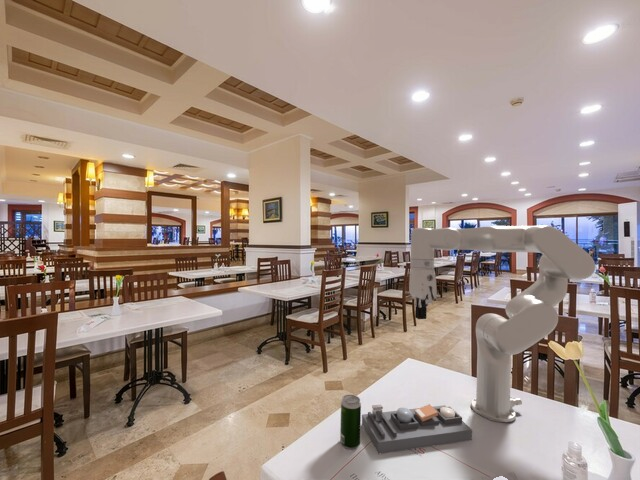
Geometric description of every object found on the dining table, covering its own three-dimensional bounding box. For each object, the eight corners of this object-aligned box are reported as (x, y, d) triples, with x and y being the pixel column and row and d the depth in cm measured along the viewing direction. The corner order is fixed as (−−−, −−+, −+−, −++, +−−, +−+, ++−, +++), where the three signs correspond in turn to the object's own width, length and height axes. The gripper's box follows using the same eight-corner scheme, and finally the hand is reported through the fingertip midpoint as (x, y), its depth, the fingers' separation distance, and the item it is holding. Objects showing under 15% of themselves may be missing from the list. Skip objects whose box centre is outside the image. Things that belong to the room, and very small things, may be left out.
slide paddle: (379, 415, 86) (380, 403, 86) (383, 420, 84) (383, 408, 84) (371, 416, 86) (371, 404, 86) (374, 421, 83) (374, 409, 83)
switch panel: (444, 414, 93) (445, 400, 93) (471, 440, 81) (472, 424, 81) (361, 424, 87) (362, 409, 87) (378, 453, 75) (378, 436, 75)
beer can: (348, 453, 75) (349, 407, 75) (336, 441, 79) (337, 397, 79) (364, 445, 78) (365, 401, 78) (351, 434, 82) (352, 392, 82)
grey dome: (407, 413, 86) (407, 407, 86) (414, 422, 82) (414, 415, 82) (394, 415, 85) (394, 408, 85) (401, 423, 81) (401, 416, 81)
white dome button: (448, 412, 89) (449, 406, 89) (457, 421, 85) (457, 414, 85) (437, 414, 88) (437, 407, 88) (445, 422, 84) (445, 415, 84)
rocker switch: (430, 407, 87) (429, 403, 87) (438, 415, 83) (437, 411, 83) (414, 413, 86) (414, 409, 86) (422, 421, 82) (421, 418, 82)
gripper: (445, 266, 92) (444, 324, 92) (419, 262, 106) (418, 312, 107) (424, 266, 90) (423, 325, 90) (401, 262, 105) (400, 313, 105)
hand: (420, 318), depth 98 cm, fingers closed
